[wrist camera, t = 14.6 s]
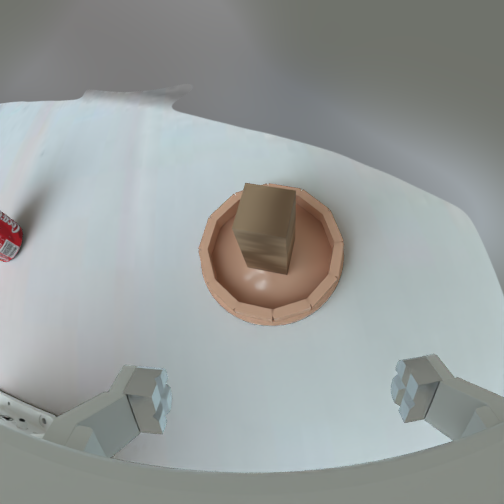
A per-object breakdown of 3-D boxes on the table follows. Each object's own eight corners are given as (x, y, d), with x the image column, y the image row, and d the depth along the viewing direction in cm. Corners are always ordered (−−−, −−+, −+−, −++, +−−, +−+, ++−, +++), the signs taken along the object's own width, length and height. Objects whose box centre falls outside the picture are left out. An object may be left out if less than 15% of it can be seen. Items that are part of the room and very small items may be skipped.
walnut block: (247, 267, 35) (231, 228, 26) (257, 231, 36) (245, 182, 27) (287, 275, 34) (285, 237, 25) (295, 238, 36) (295, 190, 26)
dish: (185, 306, 35) (177, 301, 32) (224, 185, 40) (220, 172, 38) (328, 339, 32) (331, 337, 29) (350, 206, 37) (354, 194, 34)
